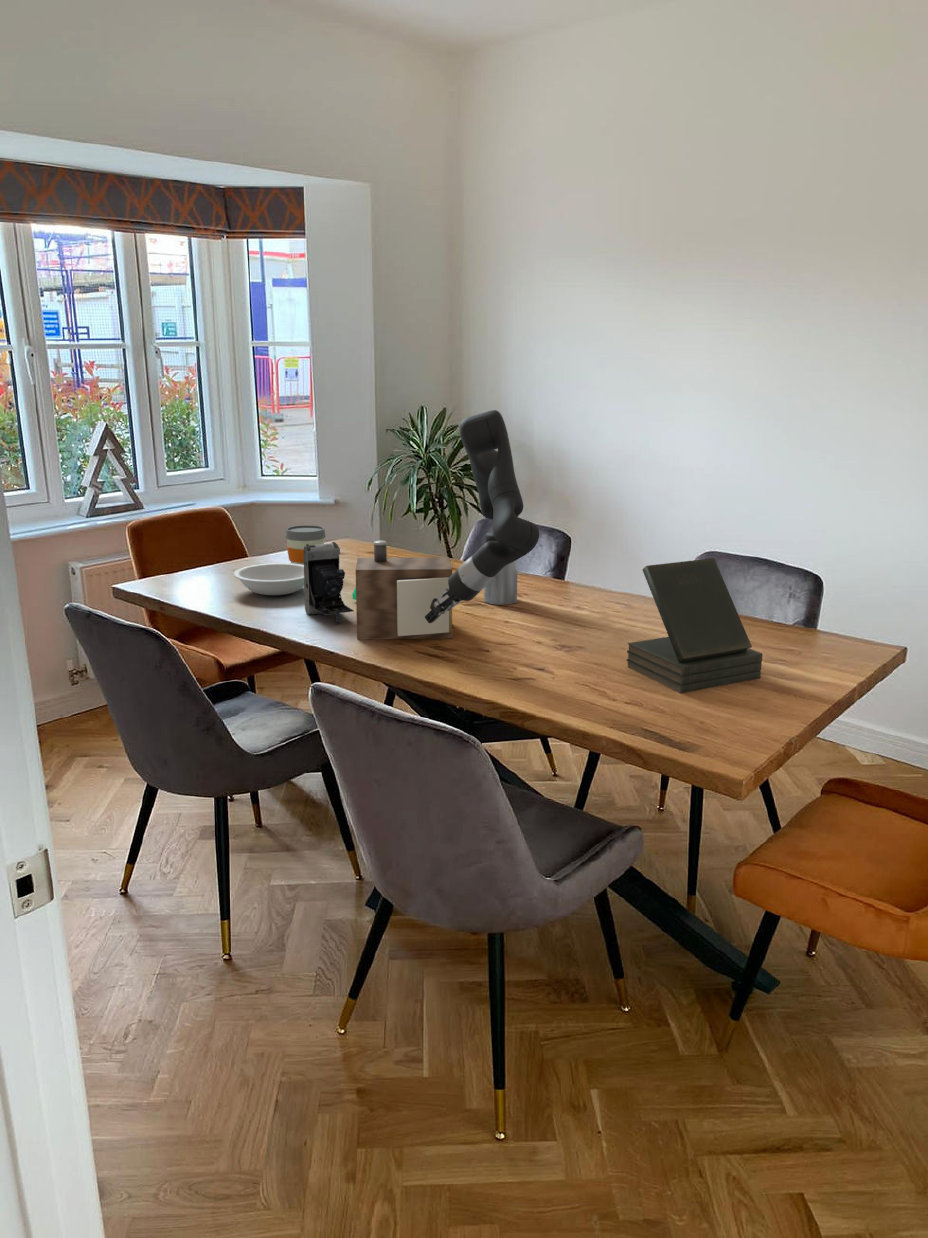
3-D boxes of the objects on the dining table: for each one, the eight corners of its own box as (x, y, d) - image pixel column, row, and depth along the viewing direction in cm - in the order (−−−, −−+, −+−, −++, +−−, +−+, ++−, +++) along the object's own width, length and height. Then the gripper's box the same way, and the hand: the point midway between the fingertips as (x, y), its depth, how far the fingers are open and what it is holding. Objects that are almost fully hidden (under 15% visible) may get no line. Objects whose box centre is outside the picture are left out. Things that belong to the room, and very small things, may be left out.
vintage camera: (321, 629, 253) (321, 555, 247) (303, 612, 266) (302, 542, 260) (356, 625, 258) (357, 552, 252) (336, 609, 271) (336, 540, 265)
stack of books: (679, 694, 207) (687, 582, 200) (625, 668, 224) (631, 563, 217) (760, 679, 217) (771, 571, 210) (703, 655, 234) (711, 554, 227)
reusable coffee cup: (323, 579, 305) (321, 532, 301) (283, 578, 305) (281, 532, 301) (329, 570, 317) (327, 525, 313) (291, 569, 317) (289, 524, 313)
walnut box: (449, 622, 258) (449, 557, 253) (451, 638, 245) (452, 569, 240) (359, 623, 257) (357, 557, 252) (357, 639, 243) (355, 569, 238)
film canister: (387, 559, 250) (386, 540, 249) (387, 562, 247) (386, 543, 245) (374, 559, 250) (373, 540, 248) (373, 562, 246) (373, 543, 245)
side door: (451, 630, 244) (451, 577, 240) (452, 632, 243) (452, 578, 239) (397, 634, 240) (396, 580, 236) (398, 636, 239) (397, 581, 235)
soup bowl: (309, 604, 276) (308, 581, 274) (225, 603, 276) (224, 580, 274) (322, 584, 299) (321, 563, 297) (245, 583, 299) (244, 562, 297)
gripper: (476, 560, 231) (434, 602, 241) (447, 569, 220) (403, 613, 230) (495, 584, 230) (452, 625, 239) (466, 595, 219) (422, 638, 229)
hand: (428, 619), depth 235 cm, fingers closed
